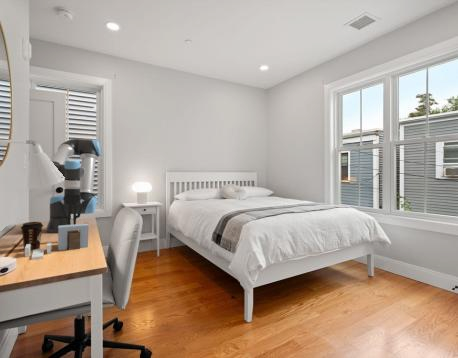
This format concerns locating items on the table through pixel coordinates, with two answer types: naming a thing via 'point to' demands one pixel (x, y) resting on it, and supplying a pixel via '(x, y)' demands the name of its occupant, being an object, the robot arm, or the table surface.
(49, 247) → the cradle
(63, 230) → the bore block
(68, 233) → the walnut bar
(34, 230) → the coffee cup
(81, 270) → the table surface
